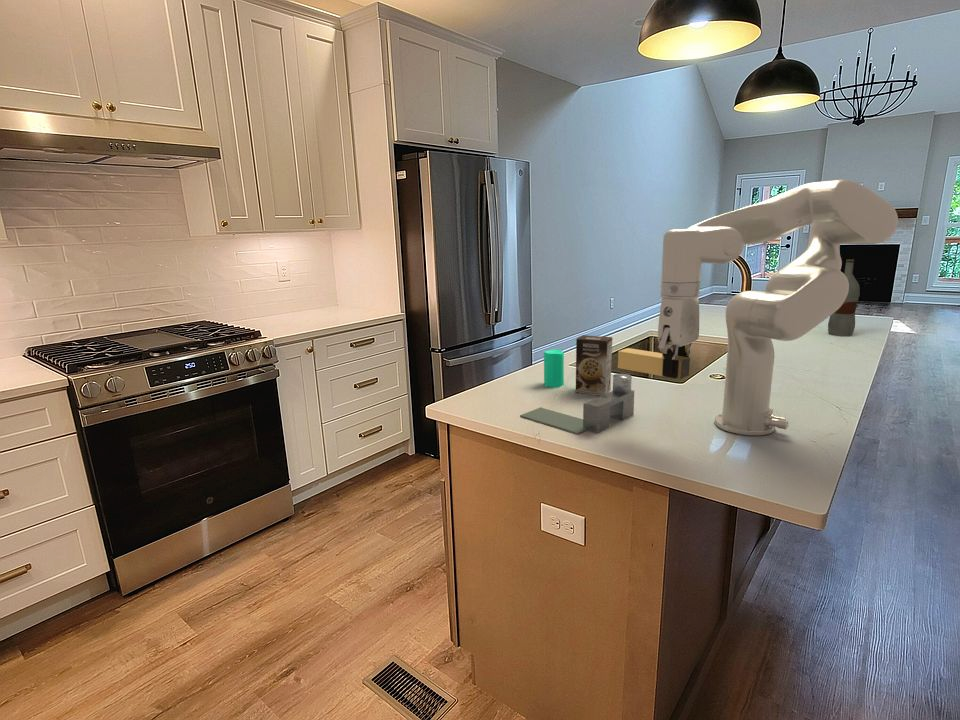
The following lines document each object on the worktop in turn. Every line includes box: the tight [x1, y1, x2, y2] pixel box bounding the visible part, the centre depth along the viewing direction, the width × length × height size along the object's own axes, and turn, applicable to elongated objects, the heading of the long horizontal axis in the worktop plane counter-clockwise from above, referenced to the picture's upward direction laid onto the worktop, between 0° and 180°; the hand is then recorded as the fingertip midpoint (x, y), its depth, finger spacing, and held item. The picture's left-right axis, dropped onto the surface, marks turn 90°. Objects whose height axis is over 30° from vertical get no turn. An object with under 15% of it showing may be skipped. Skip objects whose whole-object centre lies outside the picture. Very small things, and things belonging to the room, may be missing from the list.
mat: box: [520, 407, 588, 435], centre depth 129 cm, size 18×8×1 cm, turn 43°
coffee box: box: [575, 334, 613, 396], centre depth 149 cm, size 9×6×16 cm
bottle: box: [827, 259, 861, 337], centre depth 207 cm, size 9×9×30 cm
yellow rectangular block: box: [617, 347, 691, 380], centre depth 115 cm, size 15×4×4 cm, turn 44°
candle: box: [543, 346, 565, 388], centre depth 158 cm, size 6×6×12 cm
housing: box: [582, 373, 635, 434], centre depth 126 cm, size 4×16×10 cm, turn 134°
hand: (675, 373), depth 112 cm, fingers closed on yellow rectangular block, 4 cm apart
